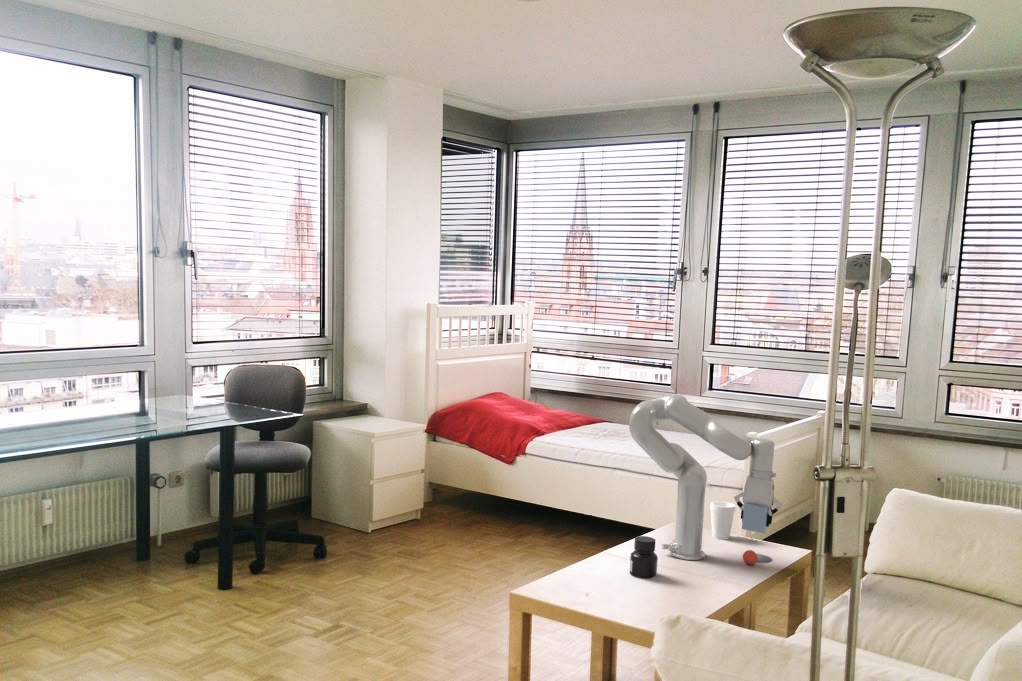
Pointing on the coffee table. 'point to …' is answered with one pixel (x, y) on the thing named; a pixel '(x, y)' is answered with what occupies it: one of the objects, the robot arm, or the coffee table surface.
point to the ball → (750, 557)
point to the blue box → (755, 518)
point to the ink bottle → (643, 558)
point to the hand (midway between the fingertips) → (755, 523)
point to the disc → (763, 558)
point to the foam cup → (721, 519)
